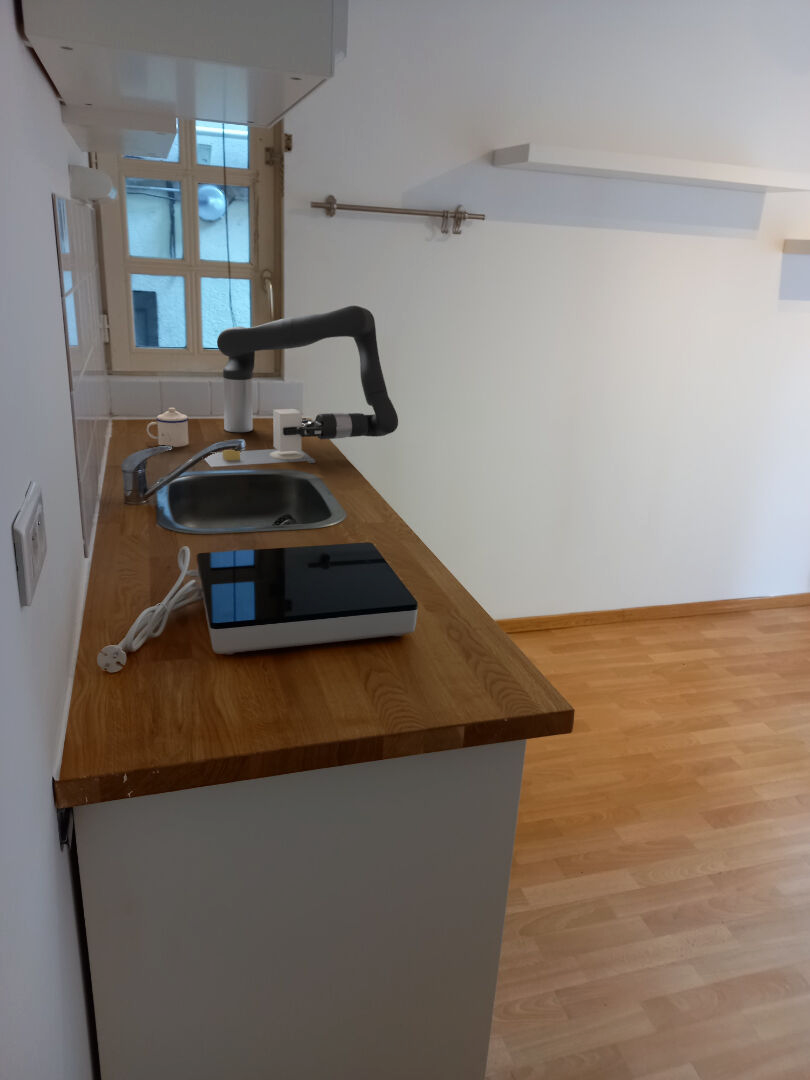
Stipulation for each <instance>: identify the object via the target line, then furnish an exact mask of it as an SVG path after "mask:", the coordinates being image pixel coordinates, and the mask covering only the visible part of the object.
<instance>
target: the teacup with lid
mask: <svg viewBox="0 0 810 1080" xmlns="http://www.w3.org/2000/svg"><path fill="white" fill-rule="evenodd" d="M188 422H189V417H188V416H187V415H186V414H183V413H181V412H179V411H177V410H176V408H175V407H168V411H165V412H164V413H161V414H159V415H157V417H156V421H151V422H150V423H148V424H147V427H146V432H147V434H148V436H149V437H150V438H152V439H154V440H158V446H161V445H171V446H173V447H172V448H180V447H185V446H187V445H189V425H188V424H189V423H188ZM156 425H157V435H154V434H152V432H151V430H150V427H152V426H156Z"/></svg>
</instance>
